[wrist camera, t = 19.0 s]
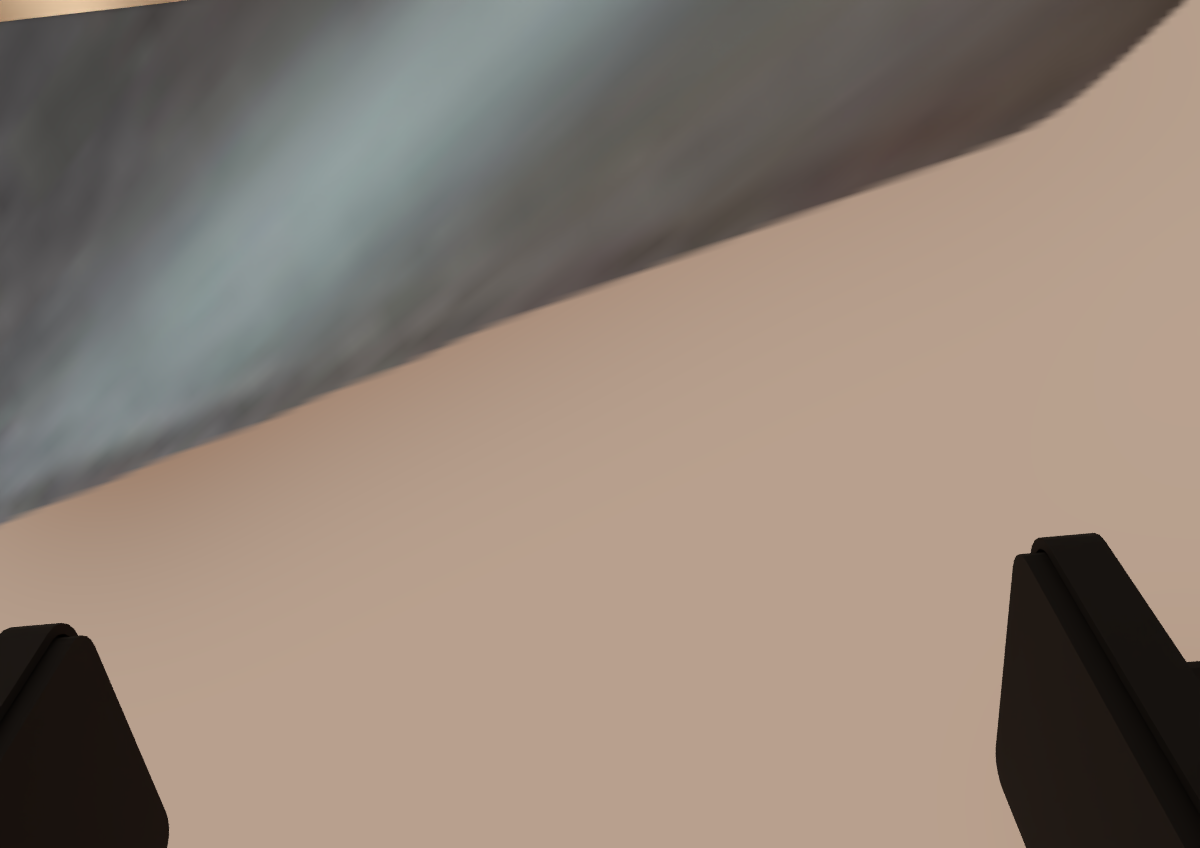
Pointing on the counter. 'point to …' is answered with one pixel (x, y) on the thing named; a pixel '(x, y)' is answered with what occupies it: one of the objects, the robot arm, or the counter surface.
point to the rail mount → (63, 7)
